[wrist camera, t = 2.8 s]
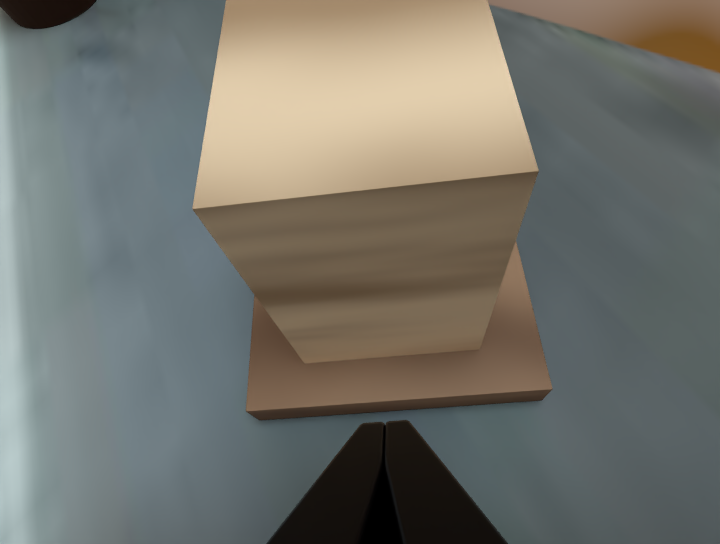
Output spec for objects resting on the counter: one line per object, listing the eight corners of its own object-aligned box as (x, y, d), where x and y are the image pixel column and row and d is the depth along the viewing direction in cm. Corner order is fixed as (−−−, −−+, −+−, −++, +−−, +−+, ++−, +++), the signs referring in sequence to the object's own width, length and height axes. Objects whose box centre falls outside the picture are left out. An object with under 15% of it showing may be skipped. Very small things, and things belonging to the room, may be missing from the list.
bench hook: (541, 400, 16) (608, 331, 10) (259, 420, 17) (177, 366, 11) (467, 79, 24) (481, -59, 18) (278, 103, 25) (235, -23, 19)
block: (479, 349, 16) (538, 171, 8) (304, 363, 16) (192, 208, 8) (441, 132, 20) (453, -113, 13) (307, 148, 21) (238, -78, 13)
